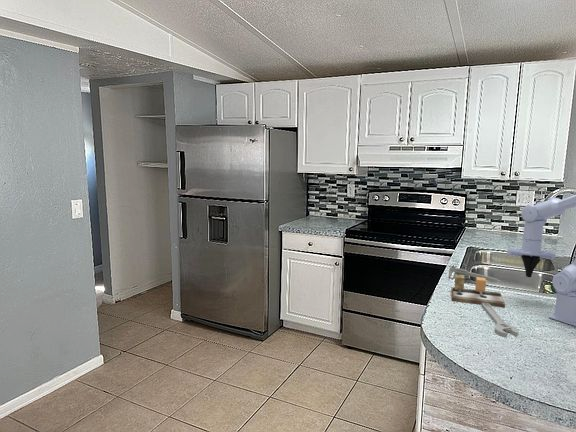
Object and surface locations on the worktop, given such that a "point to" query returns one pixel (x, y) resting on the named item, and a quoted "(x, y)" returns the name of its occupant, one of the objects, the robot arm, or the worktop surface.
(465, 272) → the caliper
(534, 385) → the worktop surface
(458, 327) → the worktop surface
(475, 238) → the worktop surface
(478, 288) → the block
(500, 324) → the adjustable wrench
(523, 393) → the worktop surface
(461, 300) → the board
